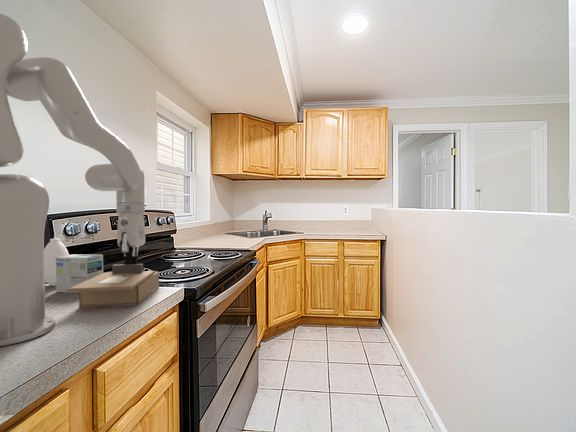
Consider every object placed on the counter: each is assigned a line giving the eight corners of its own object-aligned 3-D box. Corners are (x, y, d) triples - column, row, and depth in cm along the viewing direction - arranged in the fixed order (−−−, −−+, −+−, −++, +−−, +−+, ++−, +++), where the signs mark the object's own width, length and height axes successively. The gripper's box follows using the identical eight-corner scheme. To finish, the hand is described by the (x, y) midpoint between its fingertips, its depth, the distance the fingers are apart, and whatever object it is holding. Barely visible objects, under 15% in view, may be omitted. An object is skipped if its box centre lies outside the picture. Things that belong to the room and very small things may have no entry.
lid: (131, 289, 71) (131, 276, 71) (68, 291, 69) (68, 278, 69) (154, 273, 88) (154, 263, 88) (104, 275, 86) (104, 264, 86)
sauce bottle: (76, 282, 98) (75, 229, 98) (55, 289, 91) (54, 231, 90) (56, 282, 99) (55, 229, 99) (33, 288, 92) (32, 231, 91)
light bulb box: (104, 287, 92) (104, 253, 92) (88, 293, 86) (87, 257, 86) (73, 286, 94) (73, 253, 93) (54, 292, 87) (54, 256, 87)
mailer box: (138, 305, 75) (138, 286, 75) (79, 307, 73) (79, 288, 73) (158, 286, 93) (158, 271, 93) (111, 288, 91) (111, 272, 91)
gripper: (134, 209, 81) (135, 274, 82) (151, 209, 96) (152, 264, 97) (105, 209, 80) (106, 275, 81) (127, 209, 95) (128, 265, 95)
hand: (131, 269), depth 89 cm, fingers closed
